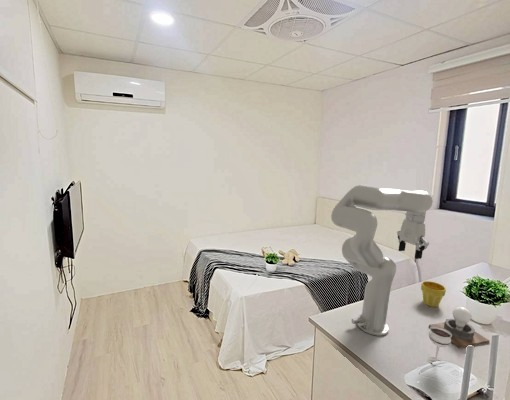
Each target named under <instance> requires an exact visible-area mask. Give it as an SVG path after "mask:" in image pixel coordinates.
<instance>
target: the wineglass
mask: <svg viewBox="0 0 510 400" xmlns="http://www.w3.org/2000/svg"><path fill="white" fill-rule="evenodd" d="M429 329H430V330H429V332H428V338H429V340H430V341H431V343H432V344H434V345H435V346H436V350H435V357H434V356H429V357H427V358H426V359H427V362H428V363H429V362H430V364H431V363H432V362H436V361H441V359H439V358H438V355H439V350H440V348H446V347H447V346H450V344H452V343H451V337H452V334H451V333H450V332H449V331H448V330H446V329H444V328H442V327H438V326H432V327H429Z"/></svg>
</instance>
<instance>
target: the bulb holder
mask: <svg viewBox="0 0 510 400" xmlns="http://www.w3.org/2000/svg"><path fill="white" fill-rule="evenodd" d="M432 326H438V327H442V328H444V329H446V330H448V331H449V332H450V333H451V334H452V337H451V343H450V344H452V345H454V346H455V347H457V348H458V349H461V348H467V347H466V346H468V345H473V346H472V347H474V346H480V345H485V344H488V343H490V342H491V341H490V340H489V339H488V338H486V337H485V336H483V335H482V334H480V333H478V332H477V331H475V330H476V329H475V328H474V326H472V325H470V324H469V323H466V325H465V326H464V328H463V331H460V330H457V329H455V328H456V323H455V319H454V318H447V319H445V321H444V322H438V323H431V324H429V325H428V328H430V327H432ZM468 347H469V346H468Z"/></svg>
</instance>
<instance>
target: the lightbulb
mask: <svg viewBox="0 0 510 400" xmlns="http://www.w3.org/2000/svg"><path fill="white" fill-rule="evenodd" d="M452 316H453V319H455V323H456V328H455V329H457V330H460V331H463V328H464V326H465V325H466V323H467V324H469V322H470V321H471V320H472V313H471V311H470V310H469V309H468V308H466V307H464V306H456V307H455V308H453V310H452Z"/></svg>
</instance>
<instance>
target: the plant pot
mask: <svg viewBox="0 0 510 400" xmlns="http://www.w3.org/2000/svg"><path fill="white" fill-rule="evenodd" d="M420 289H421V292H422V301H423V304H425V305H426V306H429V307H432V308H436V307H439V305H440V304H441V301H442V299H443V297H445V296H446V290H447V289H446V287H445V286H444V285H442V284H441V283H439V282H436V281H429V280H428V281H427V280H424V281H422V282H421V286H420Z"/></svg>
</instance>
